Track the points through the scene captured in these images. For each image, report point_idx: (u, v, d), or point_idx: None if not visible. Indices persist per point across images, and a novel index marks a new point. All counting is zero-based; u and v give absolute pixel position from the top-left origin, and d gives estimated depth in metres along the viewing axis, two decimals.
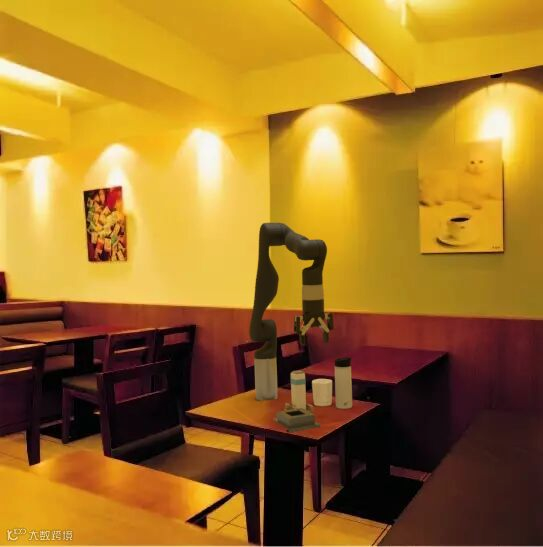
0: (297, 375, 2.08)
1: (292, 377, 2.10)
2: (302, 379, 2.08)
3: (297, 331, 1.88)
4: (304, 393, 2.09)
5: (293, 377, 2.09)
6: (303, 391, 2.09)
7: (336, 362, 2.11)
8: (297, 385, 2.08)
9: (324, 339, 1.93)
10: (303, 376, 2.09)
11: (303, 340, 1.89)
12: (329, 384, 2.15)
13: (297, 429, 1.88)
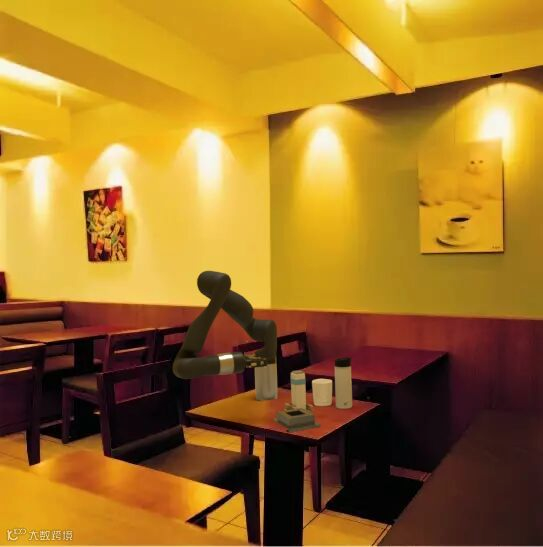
0: (297, 375, 2.08)
1: (292, 377, 2.10)
2: (302, 379, 2.08)
3: None
4: (304, 393, 2.09)
5: (293, 377, 2.09)
6: (303, 391, 2.09)
7: (336, 362, 2.11)
8: (297, 385, 2.08)
9: None
10: (303, 376, 2.09)
11: None
12: (329, 384, 2.15)
13: (297, 429, 1.88)
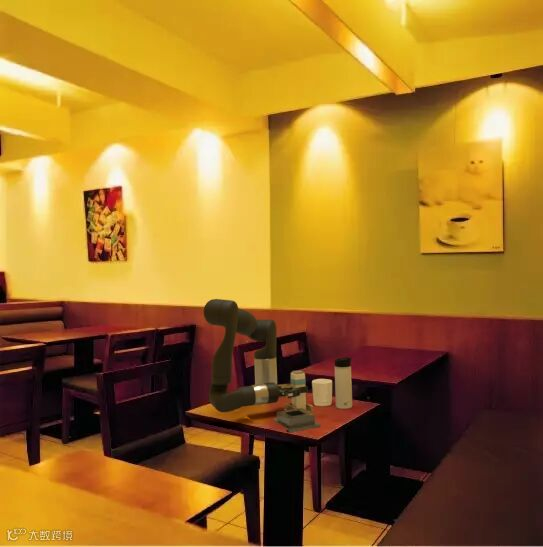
0: (297, 375, 2.08)
1: (292, 377, 2.10)
2: (302, 379, 2.08)
3: None
4: (304, 393, 2.09)
5: (293, 377, 2.09)
6: None
7: (336, 362, 2.11)
8: (297, 385, 2.08)
9: None
10: (303, 376, 2.09)
11: None
12: (329, 384, 2.15)
13: (297, 429, 1.88)
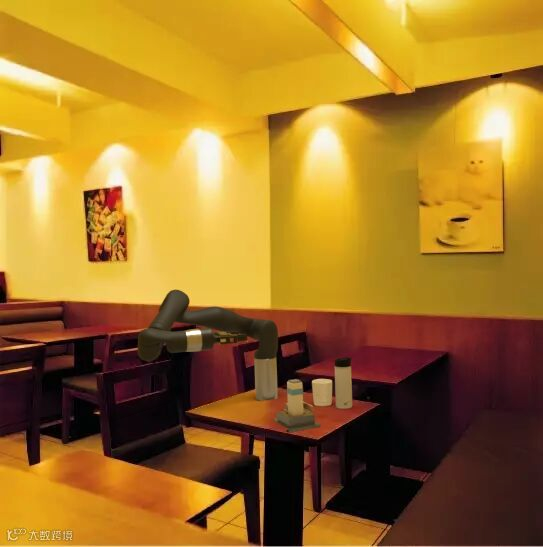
0: (294, 384, 1.92)
1: (288, 386, 1.94)
2: (299, 389, 1.93)
3: None
4: (301, 404, 1.94)
5: (290, 387, 1.94)
6: (300, 402, 1.93)
7: (336, 362, 2.11)
8: (294, 395, 1.92)
9: None
10: (300, 385, 1.93)
11: None
12: (329, 384, 2.15)
13: (297, 429, 1.88)
